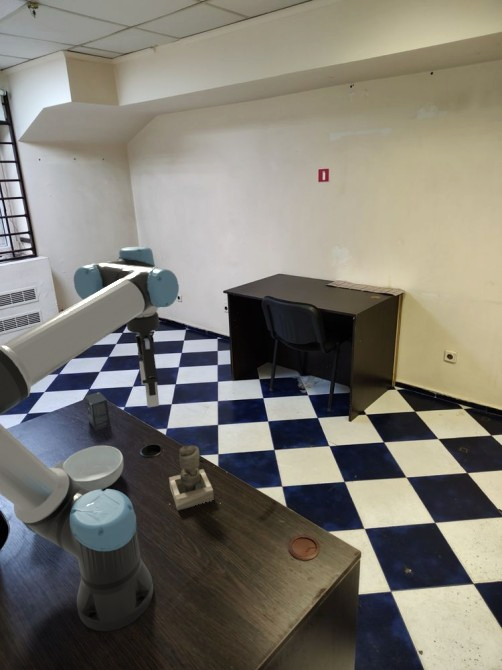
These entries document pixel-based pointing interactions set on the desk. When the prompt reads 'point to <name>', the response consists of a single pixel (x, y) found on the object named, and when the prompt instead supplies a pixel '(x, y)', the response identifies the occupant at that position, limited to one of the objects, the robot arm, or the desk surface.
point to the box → (97, 410)
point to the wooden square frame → (191, 492)
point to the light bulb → (189, 467)
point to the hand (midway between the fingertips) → (149, 394)
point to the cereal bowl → (95, 467)
